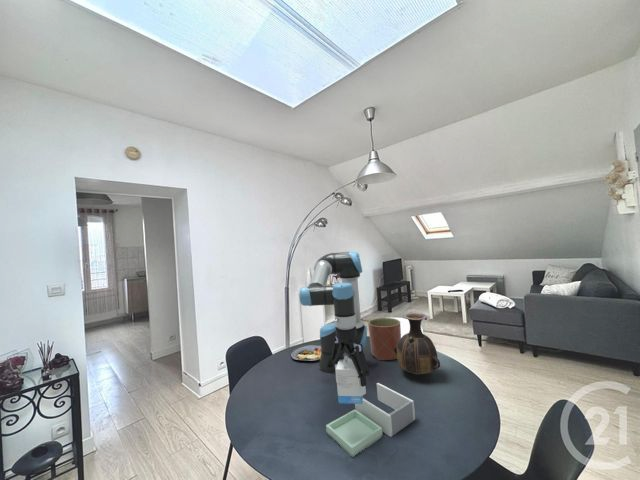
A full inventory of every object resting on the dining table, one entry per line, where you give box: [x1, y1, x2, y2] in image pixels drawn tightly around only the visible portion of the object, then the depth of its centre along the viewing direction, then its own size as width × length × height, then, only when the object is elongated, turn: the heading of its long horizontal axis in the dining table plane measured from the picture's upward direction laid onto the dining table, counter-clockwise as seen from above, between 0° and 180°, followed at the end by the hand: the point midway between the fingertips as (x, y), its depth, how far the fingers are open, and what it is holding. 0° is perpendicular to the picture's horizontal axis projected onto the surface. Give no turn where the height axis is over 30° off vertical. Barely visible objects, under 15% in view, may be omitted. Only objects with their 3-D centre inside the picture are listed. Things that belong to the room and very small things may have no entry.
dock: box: [354, 382, 416, 438], centre depth 102 cm, size 18×14×7 cm
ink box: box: [335, 354, 364, 405], centre depth 93 cm, size 9×8×13 cm
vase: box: [394, 312, 441, 375], centre depth 132 cm, size 23×19×30 cm
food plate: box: [290, 344, 321, 362], centre depth 166 cm, size 25×23×4 cm
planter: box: [367, 317, 402, 361], centre depth 158 cm, size 19×19×20 cm
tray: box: [325, 409, 384, 458], centre depth 93 cm, size 14×14×3 cm
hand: (350, 387), depth 93 cm, fingers closed on ink box, 11 cm apart
